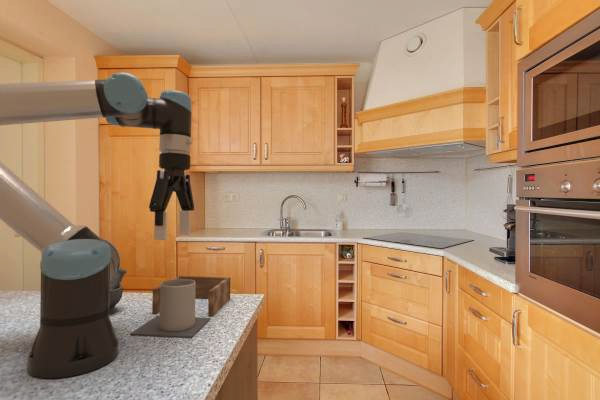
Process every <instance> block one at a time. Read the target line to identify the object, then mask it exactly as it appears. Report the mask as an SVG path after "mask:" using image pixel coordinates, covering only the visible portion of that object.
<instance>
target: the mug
mask: <svg viewBox="0 0 600 400" xmlns="http://www.w3.org/2000/svg"><path fill="white" fill-rule="evenodd" d="M172 279H173V280H172ZM172 279H167V280H165V281H162V282H161V283H160V285H159V286H160V312H159V316H160V324H159V325H160V329H161V330H163V331H169V332H176V331H183V330H187V329H190V328H192V327H193V326H194V325H195V317H196V299H195V288H196V283H195V281H194V280H191V279H174V278H172Z"/></svg>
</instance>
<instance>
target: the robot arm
mask: <svg viewBox="0 0 600 400" xmlns="http://www.w3.org/2000/svg"><path fill="white" fill-rule="evenodd" d="M99 118H101V119H102V118H105V120H106V122H107V123H108V125H111V126H118V127H119V126H120V127H121V128H125V127H128V128H131V127H132V128H141V129H143V128H144V129H153V130H159V144H158V145H159V149H158V150H159V152H160V153H159V154H158V155H159V156H158V167H159V168H160V170H159V169H158V170H157V171H156V179H155V183H154V187H153V191H152V194H151V197H150V201H149V206H148V207H149V208H148V209H149V212H151V213H152V212H153V213H154V228H153V229H154V232H153V233H154V237H153V240H154V241H155V240H156V241H158V240H159V241H167V240H168V211H166V209H167V207H168V205H169V202H170V200H171V198H172V195H173V193H174V192H175V194H176V197H177V201H178V203H179V207H180V209H181V210H179V225H178V226H179V229H178V231H179V233H178V234H179V235H184V236H185V235H186V236H187V235H189V236H190V235H191V212H192V211H195V203H194V197H193V193H192V192H193V191H192V185H191V176H190V174H187V173H186V174H185V171H188V170H190V169H191V156H190V153H191V148H192V147H191V145H192V144H193V140H191V139H192V137H191V136H192V99H191V96H190V95H189V94H187V93H186V92H184V91H180V90H176V89H175V90H174V89H171V90H170V89H166V90H162V91H161V92H160V96H159V97H156V98H155V97H148V91H146V88H145V85H143V82H142V81H141V80H140V79H139V78H138V77H137V76H135V75H134V74H132V73H129V72H125V71H124V72H116V73H113V74H111V75H109V76H108V77H107V78H106V79H105V78H104V79H93V80H92V79H91V80H90V79H89V80H68V81H63V80H62V81H61V80H60V81H40V82H39V81H38V82H18V83H17V82H10V83H9V82H7V83H0V126H10V125H22V124H23V125H24V124H36V123H37V124H38V123H49V122H61V121H75V120H84V119H85V120H86V119H87V120H89V119H99ZM0 220H1V221H2V222H3V223H4V224H6V225H7V226H8V227H9V228H11V229H12V230H13V231H14V232H16V233H17V235H19V236H20V237H22V238H23V239H24V240H25V241H27V243H28V244H30V245H32V246H33V248H35V249H37V251H38V252H40V254H41V255H40V256H41V258H40V263H39V269H40V307H39V308H40V310H39V311H40V313H39V315H40V316H39V317H40V318H39V328H38V331H37V334H36V336H35V339H34V342H33V343H32V347H31V350H30V352H29V353H28V356H27V373H28V374H29V375H31V376H33V377H36V378H41V379H59V378H60V379H61V378H68V377H74V376H77V375H83V374H86V373H89V372H92V371H95V370H98V369H100V368H102V367H104V366H106V365H108V364H109V363H111V362H113V360H115V359H116V358H117V356H118V355H119V340H118V338H117V335H116V332H115V329H114V325H113V324H112V323H113V322H112V320H111V318H110V314H109V306H110V282H111V281H112V280H113V279H114V278H115V276H116V274H117V273H118V270H119V268H120V266H121V257H120V253H119V252H118V249H117V248H116V246H115V245H114V244H113V243H112V242H110V241H108V240H107V239H104V238H101V237H99V236H98V234H96V233H95V232H94V231H93V230H91V229H90V228H89V227H88V226H86V225H77V224H74V223H73V222H71V221H70V220H69V219H68V218H67V217H66V216H65V215H63V214H62V213H61V212H59V210H58V209H56V208H55V207H54V206H53V205H52V204H50V203H49V201H48V200H46V199H44V198H43V197H42V196H41V195H40V194H38V193H37V192H36V191H35V190H34V189H33V188H32V187H31V186H29V185H28V183H26V182H25V181H24V180H23V179H21V178H20V177H19V176H18V175H17V174H15V173H14V172H13V171H12V170H11V169H10V168H8V167H7V166H6V165H5V164H4V163H3V162H2V161H0Z"/></svg>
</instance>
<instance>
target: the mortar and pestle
mask: <svg viewBox="0 0 600 400" xmlns="http://www.w3.org/2000/svg"><path fill="white" fill-rule="evenodd" d="M126 274H127V270H126V269H124V268H120V267H119V270H118V273H117V274H116V276H115V278H114V279H113V280H112V281H111V282H110V306H109V315H112V314H113V313H115V312H116V305H118V304H119V303H120V301H121V299H122V297H123V291H124V290H123V289H124V287H123V285H121V283H122V281H123V278H124V276H125V275H126Z"/></svg>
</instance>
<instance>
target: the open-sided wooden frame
mask: <svg viewBox="0 0 600 400" xmlns="http://www.w3.org/2000/svg"><path fill="white" fill-rule="evenodd" d="M173 279H191V280H194V281H195V283H196V288H195V300H196V299H202V300H208V304H207V305H208V308H207V311H208V312H207V313H208V314H207V315H208V316H207V317H213V316H215V315H216V313H218V312H219V310H220V309H222V308H223V307H224V305H226V304H227V302H229V301H230V300H231V277H228V276H227V277H224V276H199V275H198V276H195V275H191V276H190V275H178V276H176V277H173V278H171V280H173ZM151 301H152V304H151V306H152V307H151V309H152V311H151V312H152V313H151V314H152V315H157V314H160V285H157V286H156V287H154V288H153V289H152V300H151Z"/></svg>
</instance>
